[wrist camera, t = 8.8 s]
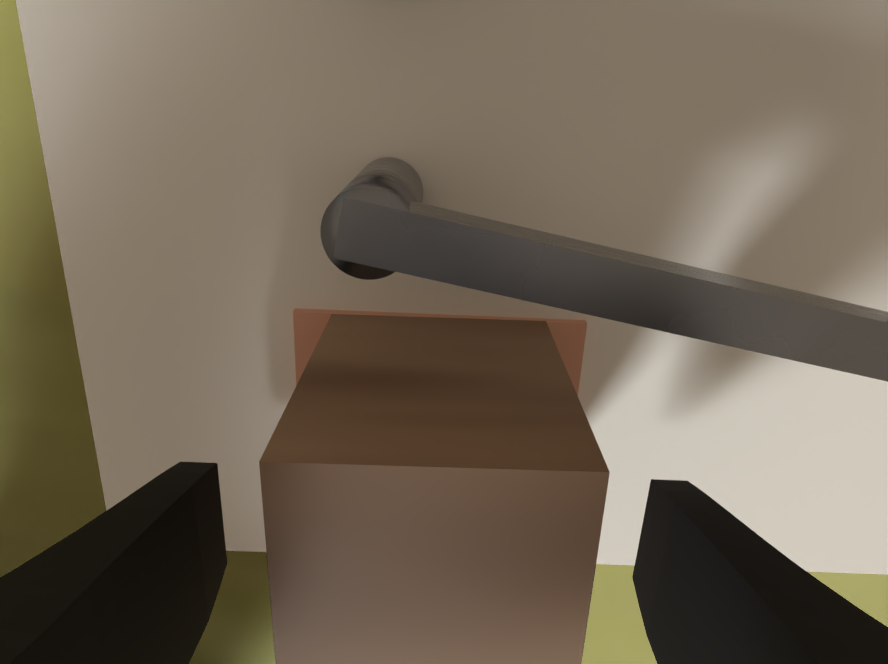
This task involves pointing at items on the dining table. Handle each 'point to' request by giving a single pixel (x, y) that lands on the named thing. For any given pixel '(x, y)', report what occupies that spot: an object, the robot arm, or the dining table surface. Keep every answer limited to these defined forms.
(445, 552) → the walnut block
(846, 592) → the dining table surface
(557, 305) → the bent wire
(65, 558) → the robot arm
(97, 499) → the dining table surface
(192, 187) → the board
